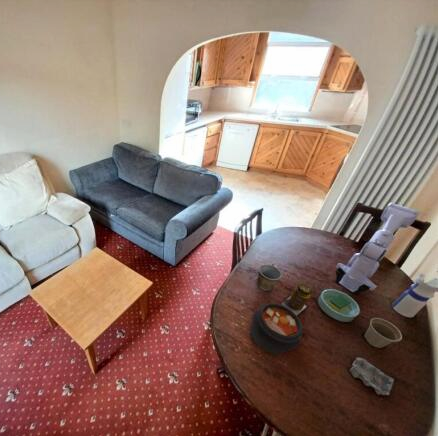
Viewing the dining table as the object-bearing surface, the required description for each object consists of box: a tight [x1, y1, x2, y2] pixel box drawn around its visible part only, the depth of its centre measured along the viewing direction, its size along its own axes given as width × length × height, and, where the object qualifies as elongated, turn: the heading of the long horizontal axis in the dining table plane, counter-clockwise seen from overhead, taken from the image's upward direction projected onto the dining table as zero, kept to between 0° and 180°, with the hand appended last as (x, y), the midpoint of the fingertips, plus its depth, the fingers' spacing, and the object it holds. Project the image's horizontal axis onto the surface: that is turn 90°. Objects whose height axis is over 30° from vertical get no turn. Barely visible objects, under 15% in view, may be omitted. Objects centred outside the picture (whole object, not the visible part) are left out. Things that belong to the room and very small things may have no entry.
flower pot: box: [363, 317, 403, 349], centre depth 93 cm, size 9×9×9 cm
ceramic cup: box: [256, 263, 283, 291], centre depth 117 cm, size 13×10×10 cm
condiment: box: [281, 283, 312, 316], centre depth 106 cm, size 7×8×12 cm
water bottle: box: [391, 270, 438, 318], centre depth 100 cm, size 8×9×25 cm
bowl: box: [317, 288, 361, 323], centre depth 107 cm, size 14×14×4 cm
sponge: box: [328, 295, 351, 313], centre depth 106 cm, size 7×4×4 cm, turn 114°
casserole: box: [249, 302, 304, 356], centre depth 97 cm, size 25×19×8 cm
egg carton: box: [349, 357, 395, 396], centre depth 84 cm, size 11×8×4 cm
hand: (346, 288), depth 106 cm, fingers open, 7 cm apart
